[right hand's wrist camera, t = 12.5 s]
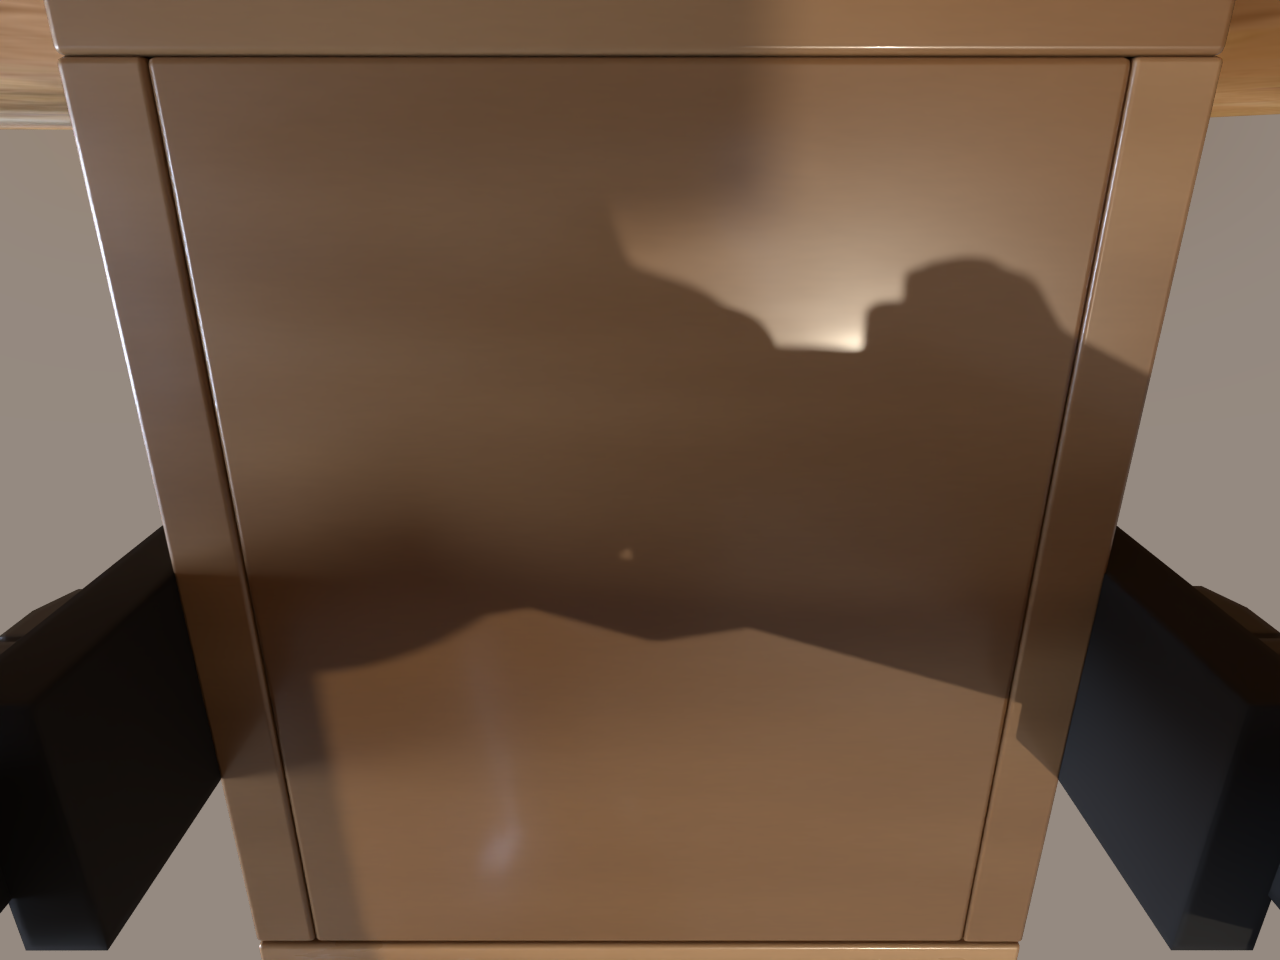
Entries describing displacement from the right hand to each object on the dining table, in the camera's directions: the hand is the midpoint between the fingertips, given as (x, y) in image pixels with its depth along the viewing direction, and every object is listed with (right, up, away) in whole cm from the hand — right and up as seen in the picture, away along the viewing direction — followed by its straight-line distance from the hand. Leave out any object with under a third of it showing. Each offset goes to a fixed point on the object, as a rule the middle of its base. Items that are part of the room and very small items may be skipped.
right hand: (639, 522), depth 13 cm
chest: (0, +8, +1) cm, 8 cm away
